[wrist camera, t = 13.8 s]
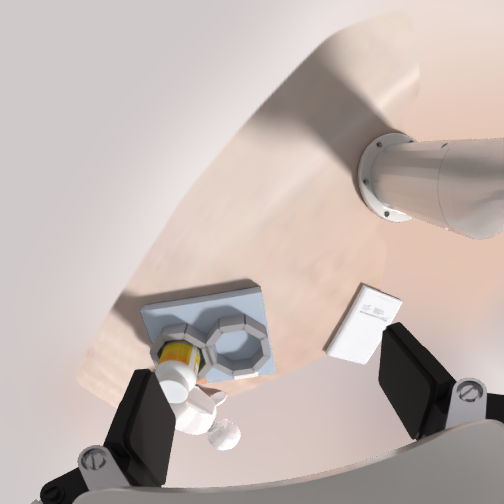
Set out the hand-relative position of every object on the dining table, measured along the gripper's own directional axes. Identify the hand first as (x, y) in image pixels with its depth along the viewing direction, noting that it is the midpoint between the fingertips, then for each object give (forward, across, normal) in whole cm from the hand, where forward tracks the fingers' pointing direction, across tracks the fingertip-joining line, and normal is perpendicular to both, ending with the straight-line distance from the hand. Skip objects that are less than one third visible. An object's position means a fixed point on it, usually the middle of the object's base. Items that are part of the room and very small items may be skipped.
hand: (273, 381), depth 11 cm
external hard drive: (+29, -16, +18) cm, 38 cm away
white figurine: (+29, +13, +28) cm, 42 cm away
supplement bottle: (+26, +12, +15) cm, 33 cm away
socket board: (+28, +8, +15) cm, 33 cm away
